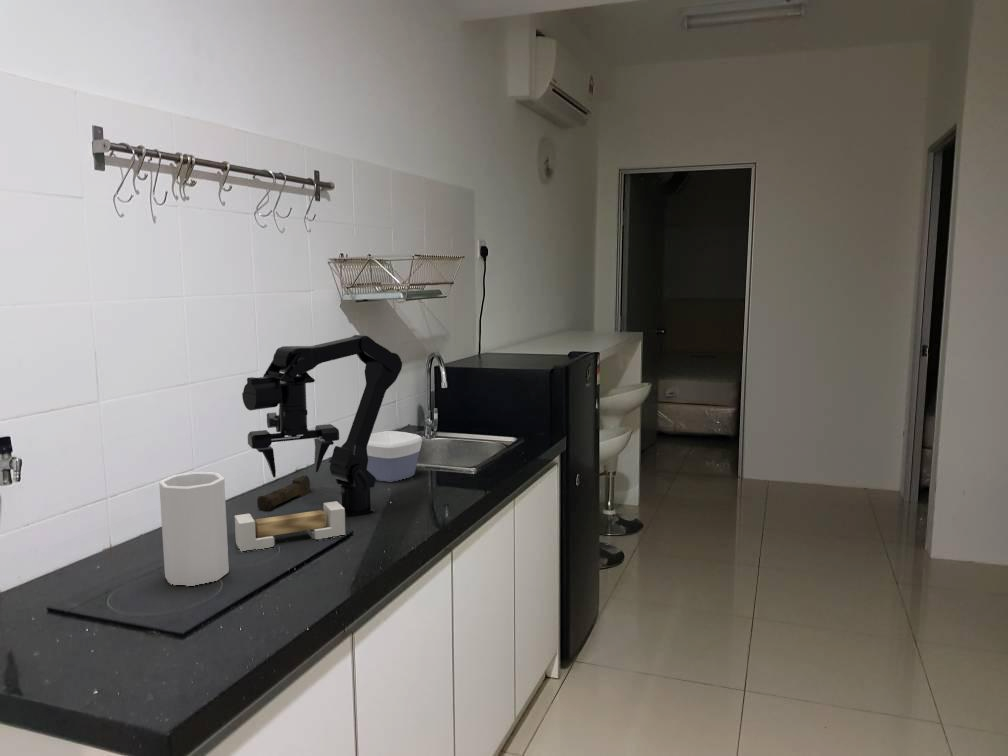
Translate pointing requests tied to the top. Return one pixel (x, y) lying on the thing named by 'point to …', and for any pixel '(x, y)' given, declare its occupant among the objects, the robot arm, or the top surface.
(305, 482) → the brown wooden log
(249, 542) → the stepped white cradle
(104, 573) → the top surface
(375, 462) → the bowl
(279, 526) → the rail
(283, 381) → the robot arm
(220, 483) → the cup
